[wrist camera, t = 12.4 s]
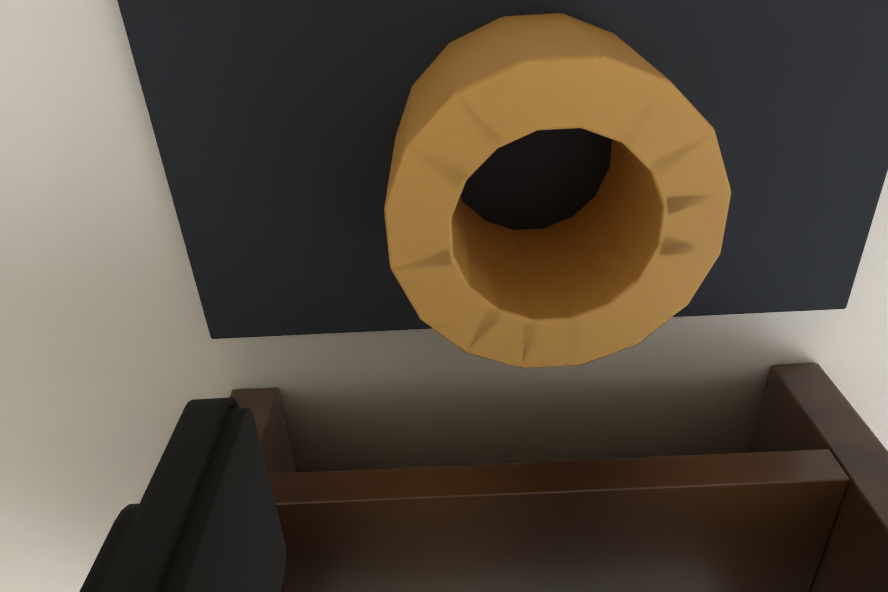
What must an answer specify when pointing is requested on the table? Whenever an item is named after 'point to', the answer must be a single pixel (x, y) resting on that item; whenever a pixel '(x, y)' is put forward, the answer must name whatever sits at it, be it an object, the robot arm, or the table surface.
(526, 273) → the tape roll
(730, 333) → the table surface
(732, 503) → the box
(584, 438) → the table surface
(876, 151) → the mat
